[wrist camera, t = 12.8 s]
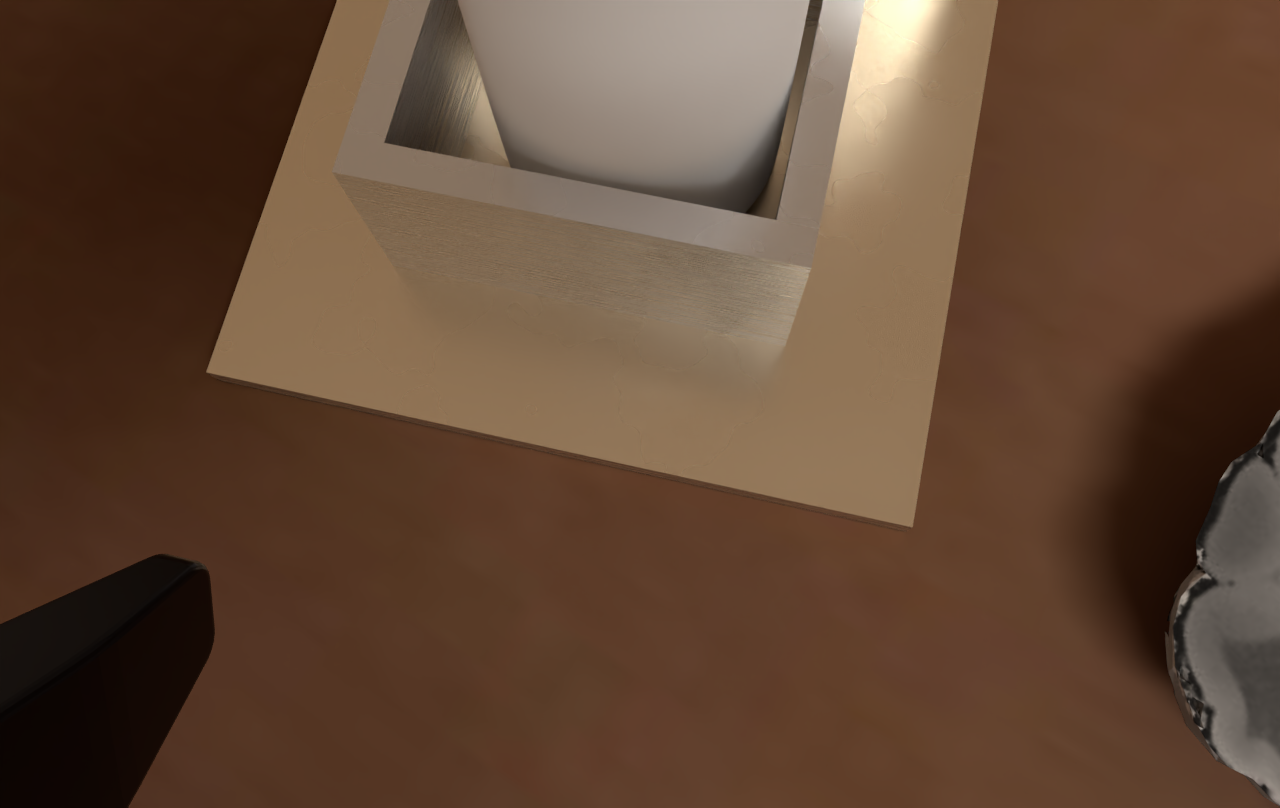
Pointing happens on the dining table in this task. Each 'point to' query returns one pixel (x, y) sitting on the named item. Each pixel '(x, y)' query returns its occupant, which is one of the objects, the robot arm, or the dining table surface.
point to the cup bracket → (627, 265)
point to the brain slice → (1235, 621)
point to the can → (642, 90)
